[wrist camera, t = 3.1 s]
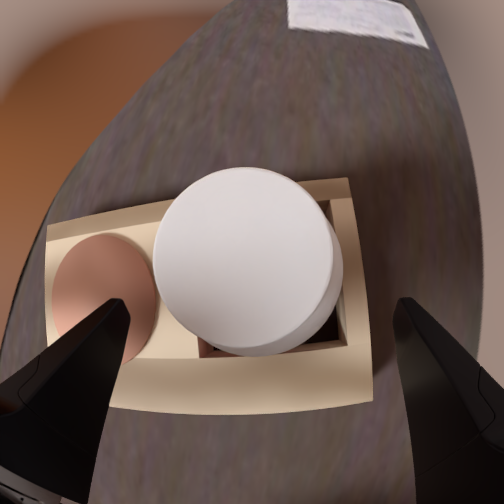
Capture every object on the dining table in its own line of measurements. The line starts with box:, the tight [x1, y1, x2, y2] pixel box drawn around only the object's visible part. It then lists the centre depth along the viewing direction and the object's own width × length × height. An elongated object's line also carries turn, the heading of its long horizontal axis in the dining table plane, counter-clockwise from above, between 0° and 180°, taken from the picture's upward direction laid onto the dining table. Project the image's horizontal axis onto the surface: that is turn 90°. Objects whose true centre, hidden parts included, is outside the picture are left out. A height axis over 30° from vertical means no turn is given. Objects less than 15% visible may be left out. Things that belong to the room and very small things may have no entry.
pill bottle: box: [153, 167, 343, 357], centre depth 13 cm, size 6×6×11 cm
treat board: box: [45, 177, 373, 415], centre depth 17 cm, size 12×20×3 cm, turn 95°
